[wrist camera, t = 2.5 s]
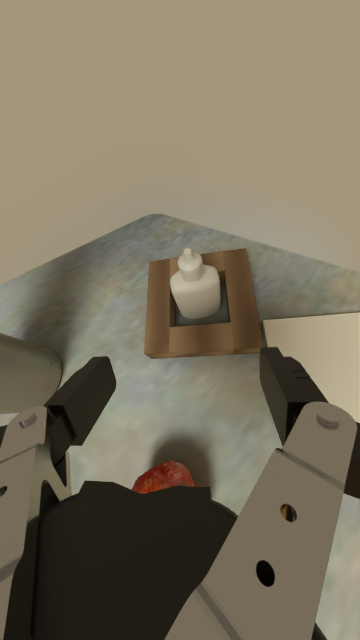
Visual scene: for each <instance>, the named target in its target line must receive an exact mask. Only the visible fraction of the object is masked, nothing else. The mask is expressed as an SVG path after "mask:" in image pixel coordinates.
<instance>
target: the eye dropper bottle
mask: <svg viewBox="0 0 360 640" xmlns="http://www.w3.org/2000/svg"><path fill="white" fill-rule="evenodd" d="M178 267H179V271H178V272H176V273H175V274H174V275H173V276H172V277H171V278H170V287H171V291H172V294H173V296H174V299H175V301H176V303H177V306H178V308H179V310H180V312H181V314H182V316H183V317H185V318H189V319H200V318H205V317H208V316H210V315H212V314H214V313H216V312H217V311H219V309H220V280H219V275H218V272H217V269H216V268H215V267H213V266H209V265H203V262H202V257H201V255H200V254H199V253H197V252H194V251H191V249H190V248H186V249H184V253H183V254H182V255H181V256H180V257H179V259H178Z"/></svg>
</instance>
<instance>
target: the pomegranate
mask: <svg viewBox="0 0 360 640" xmlns="http://www.w3.org/2000/svg"><path fill="white" fill-rule="evenodd" d="M173 486H193V487H199V486H198V485H197V484H196V483H194V481H193V480H192V476H191V474H190V472H189V470H188V468H187V467H185V466H184V465H183V464H181V463H179V462H175V461H171V460H170V461H167V462H164V463H161V464H158V465H157V466H154V467H152V468H151V469H150V470H148V471H147V472H145V473H144V474H143V475H141V476H140V477H138V479H137V480H136V481H135V484H134V486H133V488H132V490H133V491H135V492H137V493H140V494H144V493H149V492H153V491H157V490H161V489H165V488H169V487H173Z"/></svg>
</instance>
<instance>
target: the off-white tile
mask: <svg viewBox="0 0 360 640" xmlns="http://www.w3.org/2000/svg"><path fill="white" fill-rule="evenodd" d="M262 325H263V331H264V336H265V342H266V347H278V348H279V350H280V352H281V353H282V355H283V357H290V356H291V357H292V358H294V359H295V360H297V361H298V362H300V363H301V364H302V366H303V367H304V369H305V370H306V372H307V373H308V374H309V376H310V378H311V379H312V380H313V381H314V382H315V384H316V385H317V387H318V388H319V389H320V391H321V392H322V394H323V395H324V396H325V398H326V399H327V401H328V402H329V403H330V404H333V405H335V406H338V407H340V408H341V409H343V410H345V411H346V412H347V413H349V414H350V415H351V416H352V417H353V419H354V420H355V422H358V423H360V312H359V313H347V314H334V315H322V316H310V317H297V318H285V319H273V320H263V322H262Z"/></svg>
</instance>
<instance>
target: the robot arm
mask: <svg viewBox="0 0 360 640" xmlns="http://www.w3.org/2000/svg"><path fill="white" fill-rule="evenodd" d="M61 372H62V368H61V362H60V359H59V357H58V356H57V354H56V353H55V352H54V351H52V350H50V349H47V348H44V347H41V346H38V345H35V344H32V343H29V342H27V341H24V340H21V339H17V338H14V337H11V336H8V335H5V334H2V333H0V414H9V413H20V414H19V415H17V416H16V417H15V418H13V419H12V420H11V421H10V423H9V424H8V425H5V426H1V427H0V640H327V639H326V637H325V636H324V634H323V633H322V631H321V630H320V628H319V627H318V625H317V624H316V623H315V620H316V615H317V611H318V606H319V602H320V597H321V592H322V588H323V583H324V579H325V574H326V570H327V565H328V561H329V556H330V552H331V547H332V542H333V538H334V533H335V529H336V524H337V520H338V515H339V511H340V506H341V502H342V497H343V493H345V494H347V495H350V496H353V497H356V498H359V499H360V423H358V422H355V420H354V419H353V417H352V416H351V415H350V414H349V413H347V412H346V411H345V410H343V409H341V408H340V407H338V406H335V405H333V404H330V403H329V402H328V401H327V399H326V398H325V396H324V395H323V394H322V392H321V391H320V389H319V388H318V387H317V385H316V384H315V382H314V381H313V380H312V379H311V378H310V376H309V374H308V373H307V372H306V370H305V369H304V367H303V366H302V364H301V363H300V362H298V361H297V360H295V359H294V358H292V357H291V356H290V357H283V355H282V353H281V352H280V350H279V348H278V347H263V348H260V381H261V386H262V389H263V392H264V395H265V398H266V400H267V403H268V406H269V409H270V412H271V415H272V417H273V420H274V423H275V426H276V429H277V432H278V434H279V437H280V440H281V443H282V446H283V448H282V449H279V448H277V449H275V451H274V452H273V453H272V455H271V457H270V459H269V461H268V463H267V464H266V466H265V468H264V470H263V472H262V474H261V476H260V477H259V479H258V481H257V483H256V485H255V487H254V489H253V490H252V492H251V494H250V496H249V498H248V500H247V501H246V503H245V505H244V507H243V509H242V511H241V513H240V514H239V516H238V515H237V514H235V513H234V512H233V511H231V510H230V509H229V508H227V507H226V506H224V505H222V504H220V503H218V502H216V501H213V500H212V496H211V489H210V487H193V486H173V487H169V488H165V489H161V490H157V491H153V492H149V493H144V494H140V493H137V492H135V491H133V490H130V489H128V488H126V487H123V486H121V485H119V484H116V483H114V482H100V481H84V483H83V485H82V487H81V489H80V491H79V493H78V494H75V495H72V492H71V475H70V457H69V453H68V451H67V450H68V448H69V447H70V445H73V446H82V444H83V443H84V441H85V439H86V438H87V436H88V434H89V433H90V431H91V429H92V428H93V426H94V424H95V423H96V421H97V419H98V418H99V416H100V414H101V413H102V411H103V409H104V408H105V406H106V404H107V403H108V401H109V399H110V398H111V396H112V394H113V393H114V391H115V388H116V378H115V375H114V372H113V369H112V365H111V362H110V359H109V358H108V357H107V356H103V357H93V358H91V359H90V360H89V362H88V363H87V364H86V365H85V366H84V367H83V368H81V369H80V370H78V371H77V372H75V373H74V374H73V375H72V376H71V377H70V378H69V380H68V381H66V382H65V383H64V384H63V386H61V388H60V389H59V390H58V391H57V392H56V393H55V391H56V389H57V387H58V385H59V382H60V379H61ZM54 393H55V394H54ZM53 394H54V395H53Z"/></svg>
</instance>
